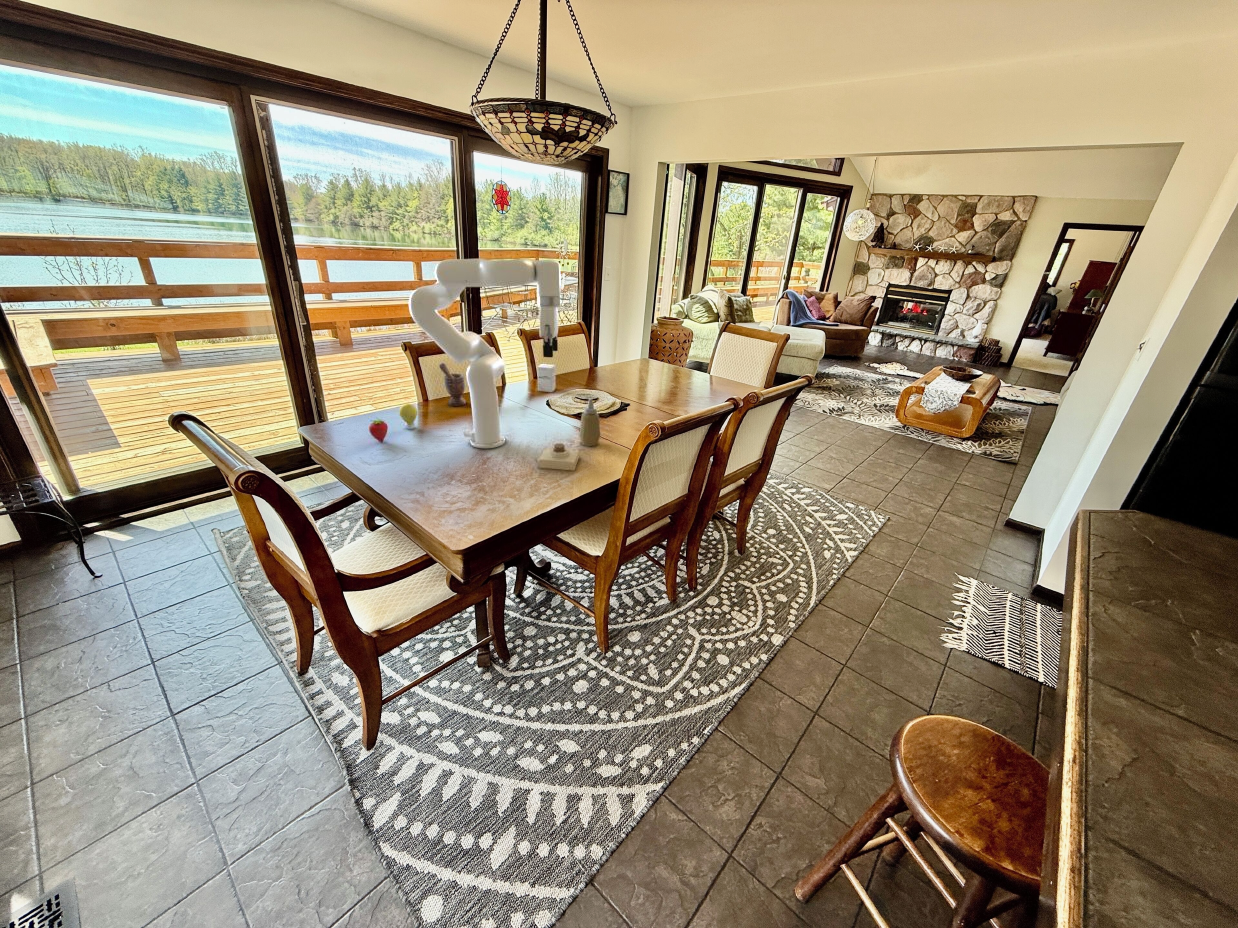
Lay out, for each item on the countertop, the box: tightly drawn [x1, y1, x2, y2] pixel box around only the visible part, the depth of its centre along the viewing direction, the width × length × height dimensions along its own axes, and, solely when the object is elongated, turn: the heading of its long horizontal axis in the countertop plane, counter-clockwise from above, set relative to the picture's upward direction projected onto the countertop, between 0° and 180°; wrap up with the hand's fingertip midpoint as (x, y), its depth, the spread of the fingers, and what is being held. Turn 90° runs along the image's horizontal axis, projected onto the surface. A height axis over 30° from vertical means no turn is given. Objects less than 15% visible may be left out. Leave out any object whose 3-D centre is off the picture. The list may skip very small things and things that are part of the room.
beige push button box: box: [538, 446, 580, 471], centre depth 167 cm, size 12×10×5 cm
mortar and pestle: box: [438, 362, 467, 407], centre depth 214 cm, size 12×9×20 cm
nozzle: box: [553, 443, 566, 452], centre depth 166 cm, size 4×4×2 cm
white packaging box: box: [537, 363, 557, 393], centre depth 242 cm, size 7×7×13 cm
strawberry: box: [368, 417, 389, 443], centre depth 175 cm, size 6×8×10 cm
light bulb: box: [398, 403, 418, 430], centre depth 188 cm, size 7×7×10 cm
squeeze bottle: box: [579, 397, 601, 447], centre depth 181 cm, size 8×8×18 cm
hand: (550, 353), depth 164 cm, fingers open, 9 cm apart
